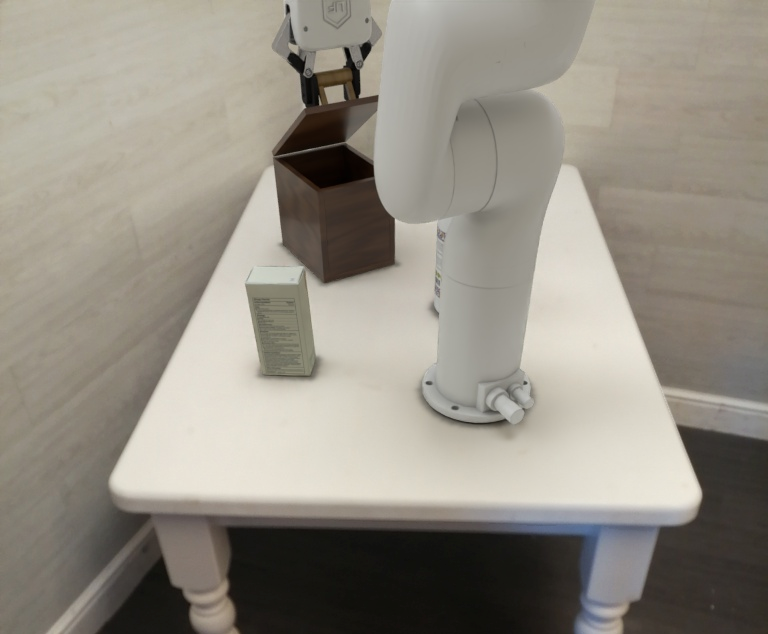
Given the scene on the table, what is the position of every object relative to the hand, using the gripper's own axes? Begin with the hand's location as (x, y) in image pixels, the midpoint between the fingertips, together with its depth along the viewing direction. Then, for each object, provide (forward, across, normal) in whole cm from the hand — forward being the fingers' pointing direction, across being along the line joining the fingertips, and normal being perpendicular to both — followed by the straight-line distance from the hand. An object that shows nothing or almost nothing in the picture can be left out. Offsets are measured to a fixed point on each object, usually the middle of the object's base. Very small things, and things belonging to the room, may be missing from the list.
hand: (332, 104), depth 95 cm
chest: (+21, 0, +1) cm, 21 cm away
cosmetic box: (+22, -19, -23) cm, 37 cm away
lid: (+4, 0, +2) cm, 4 cm away
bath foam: (+22, +7, -22) cm, 31 cm away
